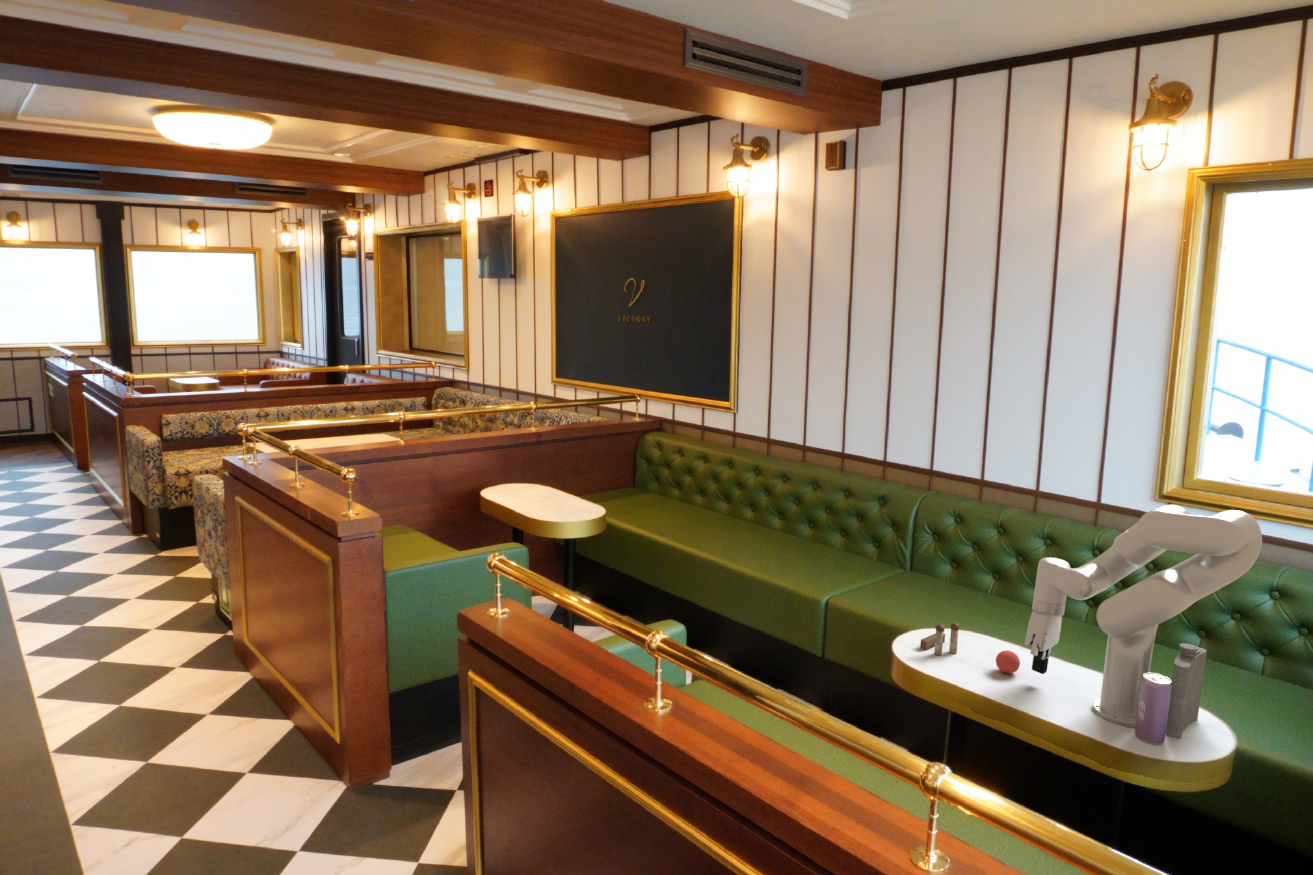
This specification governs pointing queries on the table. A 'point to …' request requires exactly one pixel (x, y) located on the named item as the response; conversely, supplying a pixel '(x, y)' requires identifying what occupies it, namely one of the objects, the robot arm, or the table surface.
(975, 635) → the table surface
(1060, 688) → the table surface
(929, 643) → the stopper wall
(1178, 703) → the hip flask
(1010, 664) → the ball
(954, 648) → the pin
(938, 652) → the pin
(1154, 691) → the beverage can
